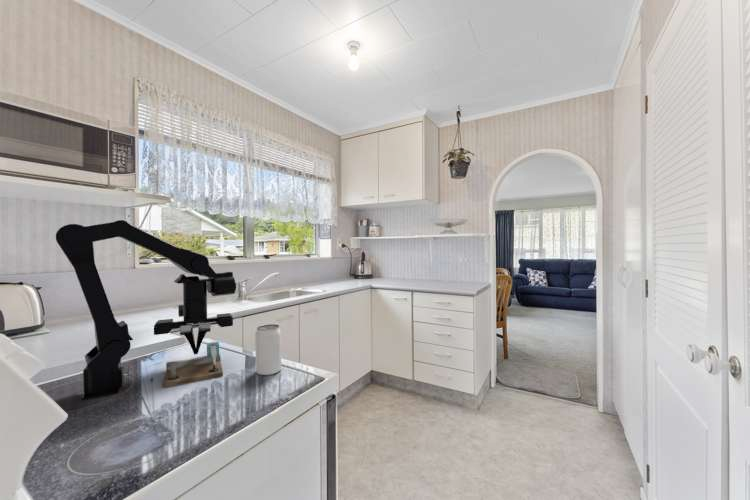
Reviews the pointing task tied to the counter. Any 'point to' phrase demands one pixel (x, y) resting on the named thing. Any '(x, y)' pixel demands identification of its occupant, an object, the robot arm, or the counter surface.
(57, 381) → the counter surface
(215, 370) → the plate
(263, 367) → the can
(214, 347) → the leg
